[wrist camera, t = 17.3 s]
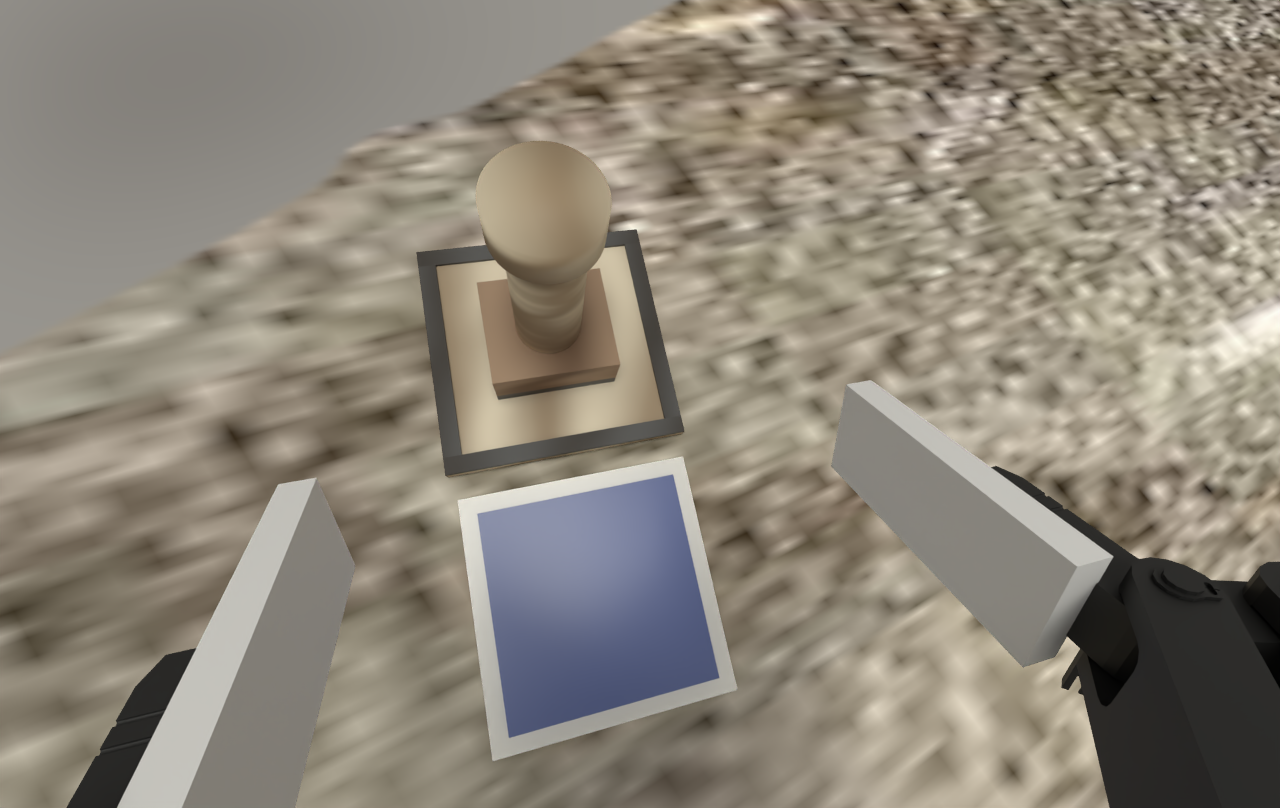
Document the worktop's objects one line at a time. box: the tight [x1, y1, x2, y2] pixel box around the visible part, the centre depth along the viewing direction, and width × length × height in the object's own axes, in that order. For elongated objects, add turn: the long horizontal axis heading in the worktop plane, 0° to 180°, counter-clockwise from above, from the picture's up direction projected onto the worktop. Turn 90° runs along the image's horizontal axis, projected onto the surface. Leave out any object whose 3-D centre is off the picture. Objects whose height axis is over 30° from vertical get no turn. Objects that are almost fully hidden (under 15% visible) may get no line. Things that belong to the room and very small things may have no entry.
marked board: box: [417, 230, 684, 477], centre depth 33 cm, size 14×14×1 cm
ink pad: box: [458, 456, 737, 761], centre depth 29 cm, size 13×13×2 cm
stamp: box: [476, 141, 620, 400], centre depth 26 cm, size 7×6×14 cm
